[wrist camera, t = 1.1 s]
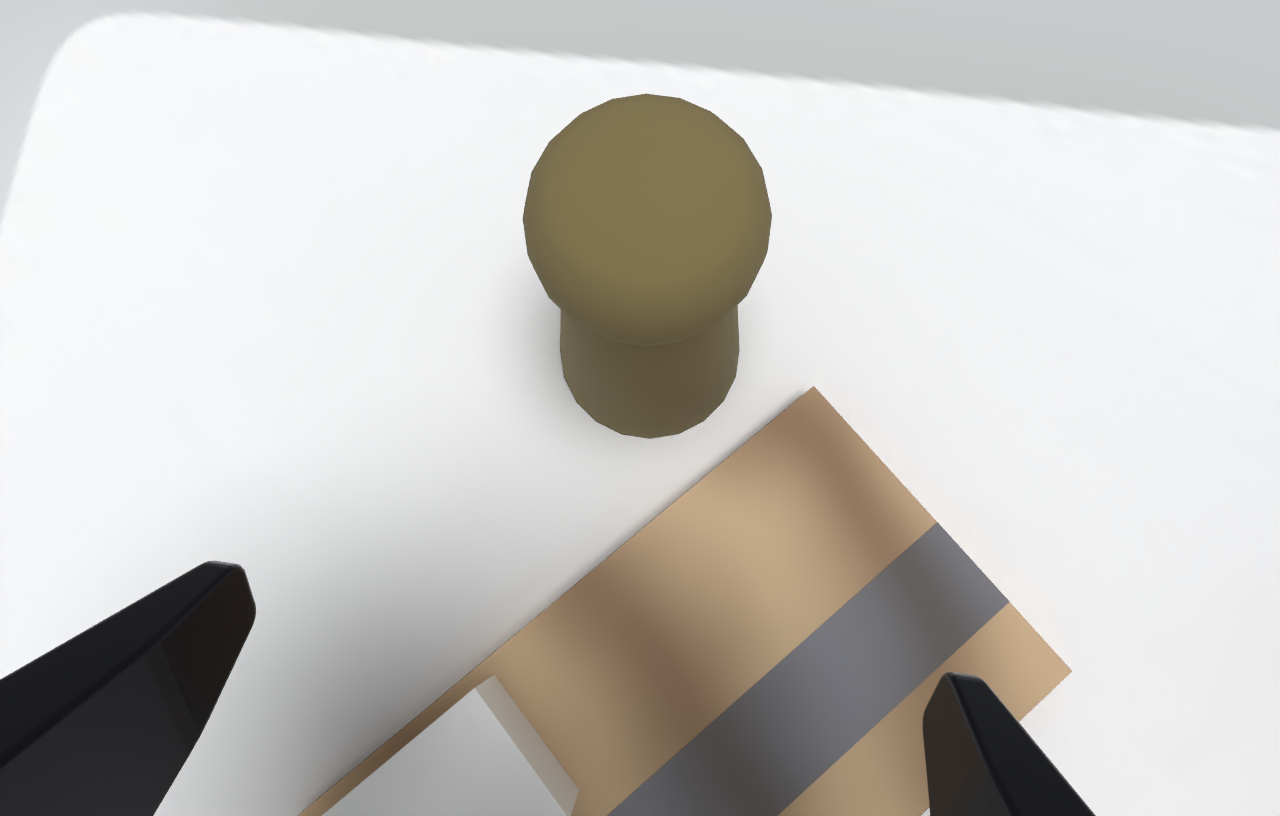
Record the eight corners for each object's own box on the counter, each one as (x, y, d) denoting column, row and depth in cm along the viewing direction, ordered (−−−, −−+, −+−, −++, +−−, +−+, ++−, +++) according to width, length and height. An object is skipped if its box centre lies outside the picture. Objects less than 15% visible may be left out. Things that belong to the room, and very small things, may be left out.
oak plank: (529, 1157, 20) (521, 1196, 18) (305, 811, 22) (285, 825, 20) (1049, 665, 22) (1072, 671, 21) (805, 395, 24) (813, 385, 23)
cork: (775, 368, 24) (873, 210, 13) (629, 474, 23) (609, 398, 13) (668, 234, 25) (678, -11, 15) (525, 332, 25) (425, 151, 14)
